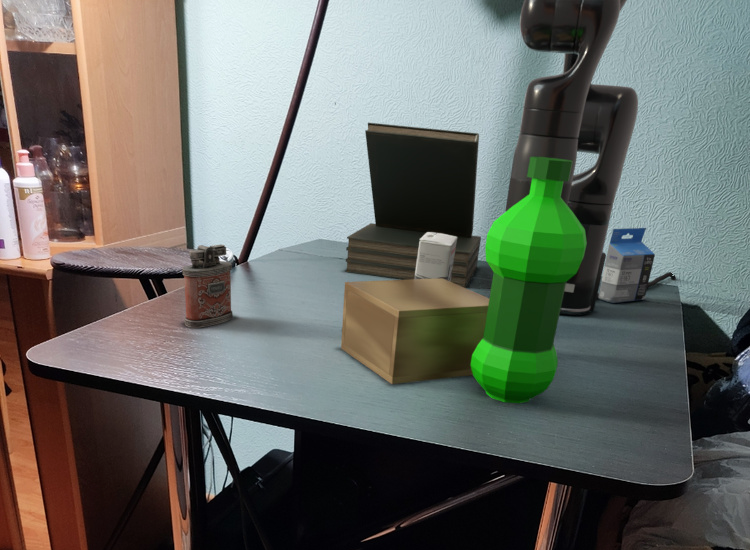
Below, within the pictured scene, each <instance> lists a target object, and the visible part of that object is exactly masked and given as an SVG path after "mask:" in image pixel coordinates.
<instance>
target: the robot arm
mask: <svg viewBox="0 0 750 550" xmlns="http://www.w3.org/2000/svg"><path fill="white" fill-rule="evenodd" d="M627 1H628V0H524V1H523V2H522V3H523V4H522V7H521V10H520V15H519V16H520V17H519V32H520V36H521V39H522V41H523V44H524V45H525V46H526V47H527V49H529V50H531V51H534V52H537V53H538V52H540V53H556V54H564V55H563V56H564V57H563V68H562V73H559V74H554V75H548V76H542V77H537V78H535V79H532V80H531V81H530V82H529V83H528V85H527V87H526V90H525V94H524V100H523V109H522V113H521V121H520V128H519V134H518V136H517V137H518V138H517V141H516V145H515V149H514V153H513V157H512V163H511V169H510V177H509V184H508V190H507V197H506V204H505V212H506V211H507V210H509V209H510V208H511V207H512V206H514V205H515V204H517V203H518V202H519V201H521V200H522V199H524V198H525V197H526V196H528V195H529V194H530V188H531V182H532V178H530V177H527V174H528V168H529V162H530V157H547V158H557V159H564V160H570V161H573V164H572V169H571V174H570V179H569V181H564V182H563V187H562V193H561V198H562V199H563V201H564V202H565V203H566V204H567V206H568V207H569V208H570V209H571V211H572V212H573V213H574V215H575V216H576V218H577V219H578V220H579V222H580V223H581V225H582V226H583V228H584V229H585V234H586V241H587V244H586V249H585V254H584V257H583V259H582V262H581V264H580V266H579V269H578V271H577V273H576V274H575V275H574V276H573V277H571V278H570V279H569V280H568V281H566V286H565V290H564V295H563V300H562V305H561V309H560V314H559V315H566V316H567V315H568V316H583V315H587V314H589V313H590V312H594V311H595V306H596V301H598V300H599V299H598V297H599V291H600V286H601V281H602V277H603V272H604V267H605V262H606V257H607V253H605V252H603V251H604V247H605V244H606V243H605V242H606V239H607V233H608V230H609V226H610V221H611V216H612V211H613V207H614V203H615V199H616V194H617V191H618V188H619V185H620V181H621V178H622V174H623V170H624V165H625V162H626V158H627V154H628V150H629V147H630V144H631V140H632V137H633V133H634V129H635V126H636V123H637V122H636V121H637V116H638V111H639V98H638V97H639V96H638V94H637V91H636V90H635V88H632V87H629V86H622V85H621V86H620V85H611V84H609V85H608V84H596V83H595V84H594V83H592V82H593V79H594V76H595V74H596V72H597V68H598V66H599V64H600V61H601V59H602V57H603V55H604V53H605V51H606V49H607V47H608V45H609V42H610V41H611V38H612V36H613V34H614V32H615V29H616V26H617V24H618V21H619V18H620V17H619V16H620V13H621V11H622V9H624V6H625V5H626V3H627ZM578 153H586V154H593V155H598V156H597V159H596V161H595V163H594V164H593V166H592V167H590V168H589V169H587V170H585V171H582V172H580V173H577V174H575V169H576V164H577V157H578ZM671 272H672V271H668V272H666V273H663V274H662V275H660V276H658V277H657V276H656V278H654V279H652V281H649V282H648V286H647V289H648V288H651V287H653V286H656V285H657V284H659V283H660V282H662V281H664V280H666V279H668V278H670V280H671V281H676V280H677V278H676V277H677V276H676V274H675V275H674V276H672V275H673V274H672V273H673V272H672V273H671Z"/></svg>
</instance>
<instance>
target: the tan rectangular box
mask: <svg viewBox="0 0 750 550" xmlns="http://www.w3.org/2000/svg"><path fill="white" fill-rule="evenodd" d="M489 299H490V297H487V296H485V295H482V294H480V293H478V292H475V291H473V290H471V289H468V288H467V287H466V288H464V287H461V286H459V285H457V284H454V283H452V282H450V281H447V280H445V279H443V278H436V279H410V280H404V279H385V280H363V281H360V280H359V281H345V282H344V292H343V308H342V309H343V310H342V324H341V325H342V326H341V340H340V341H341V343H340V344H341V345H340V349H341V350H342V351H344V352H345V353H346V354H348V355H349V356H351V357H352V358H354V360H356V361H357V362H360V364H363V365H364V366H365V367H366V368H368V369H369V370H371V371H372V372H373V373H375V374H377V375H378V376H379V377H380V378H382V379H384V380H385V381H387V382H388V383H389V384H391V385H398V384H405V383H407V384H408V383H416V382H425V381H435V380H442V379H443V380H444V379H452V378H461V377H468V376H473V373H472V369H471V359H472V354H473V352H474V351H475V349H476V347H477V345H478V344H479V343H480V341H481V340H482V339H483V336H484V330H485V324H486V317H487V311H488V305H489Z"/></svg>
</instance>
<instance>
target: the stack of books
mask: <svg viewBox="0 0 750 550" xmlns="http://www.w3.org/2000/svg"><path fill="white" fill-rule="evenodd" d="M364 133H365V141H366V142H365V143H366V150H367V160H368V167H369V168H368V169H369V177H370V187H371V195H372V196H371V197H372V205H373V214H374V222H375V223H372V222H370V223H368V224H367V225H365V226H363V227H361V228H360V229H358V230H356V231H355V232H353V233H352V234H350V235H348V236H347V237H346V240H347V243H348V244H347V247H346V248H345V249H346V251H347V257H346V258H345V262H346V269H345V270H344V272H345V273H351V274H358V275H359V274H360V275H367V276H368V275H369V276H374V277H382V278H389V279H395V280H410V279H414V278H415V270H416V263H417V256H418V249H419V242H420V238H421V237H422V236H423V235H425V234H426V233H427V232H434V233H442V234H447V235H451V236H456V237H457V243H456V249H455V256H454V262H453V268H452V275H451V281H450V282H452V283H454V284H457V285H459V286H461V287H464V288H466V289H467V286H468V285H469V283H470V281H471V279H472V277H473V275H474V274H475V272H476V270H477V268H478V261H479V254H480V247H481V240H482V236H480V235H473V232H474V220H475V218H474V217H475V207H476V188H477V174H478V173H477V171H478V158H479V157H478V156H479V141H480V133H478V132H470V131H469V132H468V131H457V130H448V129H447V130H446V129H437V128H429V127H417V126H407V125H397V124H396V125H395V124H388V123H387V124H386V123H376V122H367V129H365V132H364Z"/></svg>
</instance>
